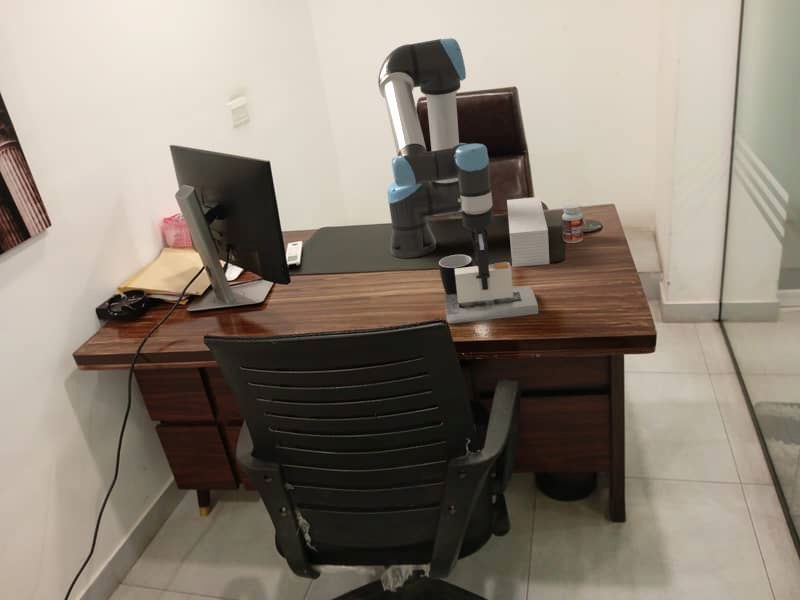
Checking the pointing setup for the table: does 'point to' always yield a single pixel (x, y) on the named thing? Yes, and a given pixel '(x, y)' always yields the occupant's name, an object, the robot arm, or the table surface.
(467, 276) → the white block
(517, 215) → the stack of papers
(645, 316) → the table surface
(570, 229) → the pill bottle
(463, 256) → the mug
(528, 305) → the rail
